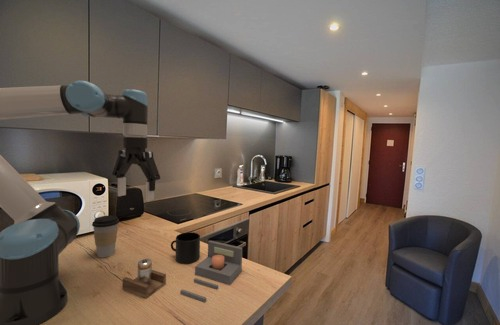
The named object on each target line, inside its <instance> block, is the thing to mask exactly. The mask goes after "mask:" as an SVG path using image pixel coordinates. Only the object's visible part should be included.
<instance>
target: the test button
mask: <svg viewBox="0 0 500 325" xmlns="http://www.w3.org/2000/svg"><path fill="white" fill-rule="evenodd" d="M212 268H213V269H216V270H220V271H221V270H222V269H223V268H224V256H223V255H214V256H213V257H212Z"/></svg>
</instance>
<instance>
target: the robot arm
mask: <svg viewBox="0 0 500 325" xmlns="http://www.w3.org/2000/svg"><path fill="white" fill-rule="evenodd" d="M148 107H149V104H148V95H147V93H146V92H145V91H143V90H138V89H134V88H133V89H130V88H129V89H127V88H126V89H123V90H122V94H121V95H120V94H110V93H109V94H108V93H105V92H104V91H103V90H102V89H101V88H100V87H99V86H97V85H96V84H94V83H91V82H90V81H86V80H76V81H73V82H71V83H70V84H65V85H63V84H61V85H58V84H57V85H40V86H39V85H37V86H36V85H35V86H34V85H33V86H18V87H17V86H13V87H0V121H1V120H2V121H4V120H14V119H25V118H39V117H49V116H51V117H52V116H61V115H62V116H63V115H77V114H80V115H81V116H85V117H91V118H112V119H122V120H123V121H122V135H123V136H124V137H123V138H122V148H123V149H124V150H123V149H121V150H120V149H119V150H118V153H117V159H116V161H115V164H114V167H113V170H112V174H111V175H112V176H115V177H116V187H117V197H122V196H127V177H126V174H127V173H128V171H129V169H130V168H131V166H132V165H133V164H134V165H137V166H138V167H139V169H141V171H142V173H143V175H144V176H145V178H146V182H145V202H150V201H153V200H155V190H156V181H159V180H161V175H160V173H159V170H158V166H157V164H156V162H155V159H154V152H153V151H146V149H147V148H148V138H147V137H148V114H149V113H148V112H149V111H148V110H149V109H148ZM0 208H1V209H2V210H3V211H4V212H5V213H6V214H7V215H8V216H9V218H11V219H12V220H13V221H14V222H13V224H11V225H9V226H7V227H6V228H4V229H3V230H1V231H0V325H40V324H42V323H44V322H46V321H48V320H50V319H51V318H53V317H55V316H56V315H57V314H59V312H61V311H62V310H63V308H64V307H65V306H66V305H67V303H68V291H67V289H66V287H65V285H64V283H63V281H62V279H61V277H60V274H59V272H60V271H59V269H60V267H59V265H60V264H59V262H60V261H59V255H60V254H61V253H62V252H63V251H64V250H65V249H66V248H67V247H68V246H69V245H70V244H71V243H73V241H74V240H75V239H76V238H77V235H78V234H79V231H80V227H81V223H80V219H79V217H78V216H77V214H76V213H74V212H72V211H70V210H67V209H63V208H61V207H60V206H59V205H58V204H57V203H56V202H55V201H46V200H45V198H44V197H42V196H41V194H39V192H38V191H37V190H36V189H35V188H34V187H33V186H32V185H31V184H29V182H28V181H27V180H25V178H24V177H23V176H22V175H21V174H20V173H19V172H18V171H17V170H16V169H15V168H14V167H13V166H12V165H11V164H10V163H9V162H8V161H7V160H6V159H5V158H4V157H3V155H1V154H0Z"/></svg>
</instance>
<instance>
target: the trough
mask: <svg viewBox="0 0 500 325" xmlns="http://www.w3.org/2000/svg"><path fill="white" fill-rule="evenodd" d="M166 274H167V273H163V272H160V271H157V270H155V269H151V284H150V285H147V284H144V283H141V282H139V281H138V276H137V277H135V278H134V279H133V278H130V277H127V276H125V277H123V278H122V280H121V281H122V285H121V286H122V290H124V291H126V292H128V293H131V294H134V295H136V296H139V297H141V298H144V299H148V298H149V297H151V295H153V294H154V293H155V292H157V291H159V290H160V289H162V287H164V286H165V285H166V284H167V275H166Z"/></svg>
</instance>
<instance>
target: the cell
mask: <svg viewBox="0 0 500 325" xmlns="http://www.w3.org/2000/svg"><path fill="white" fill-rule="evenodd" d="M152 262H153V260H152V259H150V258H143V259H140V260H139V261H138V262H137V277H138V281H139V282H141V283H144V284H147V285H150V284H151V270H152V266H153V264H152Z"/></svg>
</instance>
